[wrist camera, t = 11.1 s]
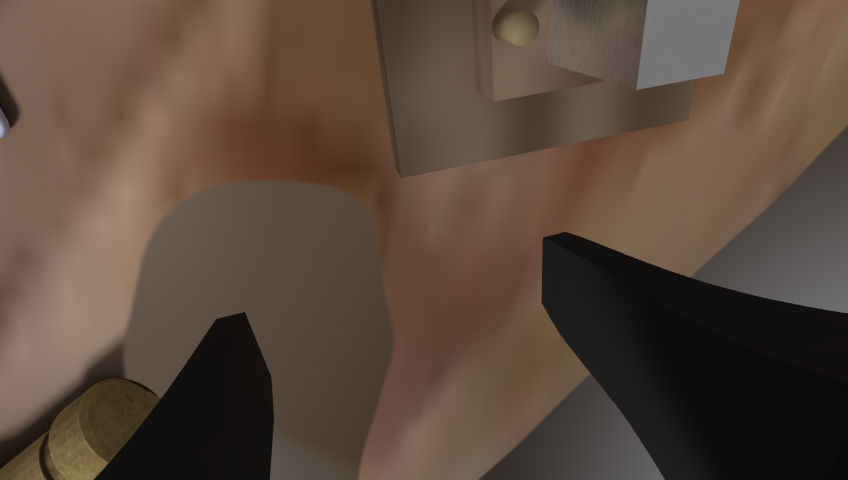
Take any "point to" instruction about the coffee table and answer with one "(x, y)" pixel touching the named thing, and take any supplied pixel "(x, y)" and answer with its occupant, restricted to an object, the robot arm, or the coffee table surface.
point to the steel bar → (641, 39)
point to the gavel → (85, 433)
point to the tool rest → (495, 85)
